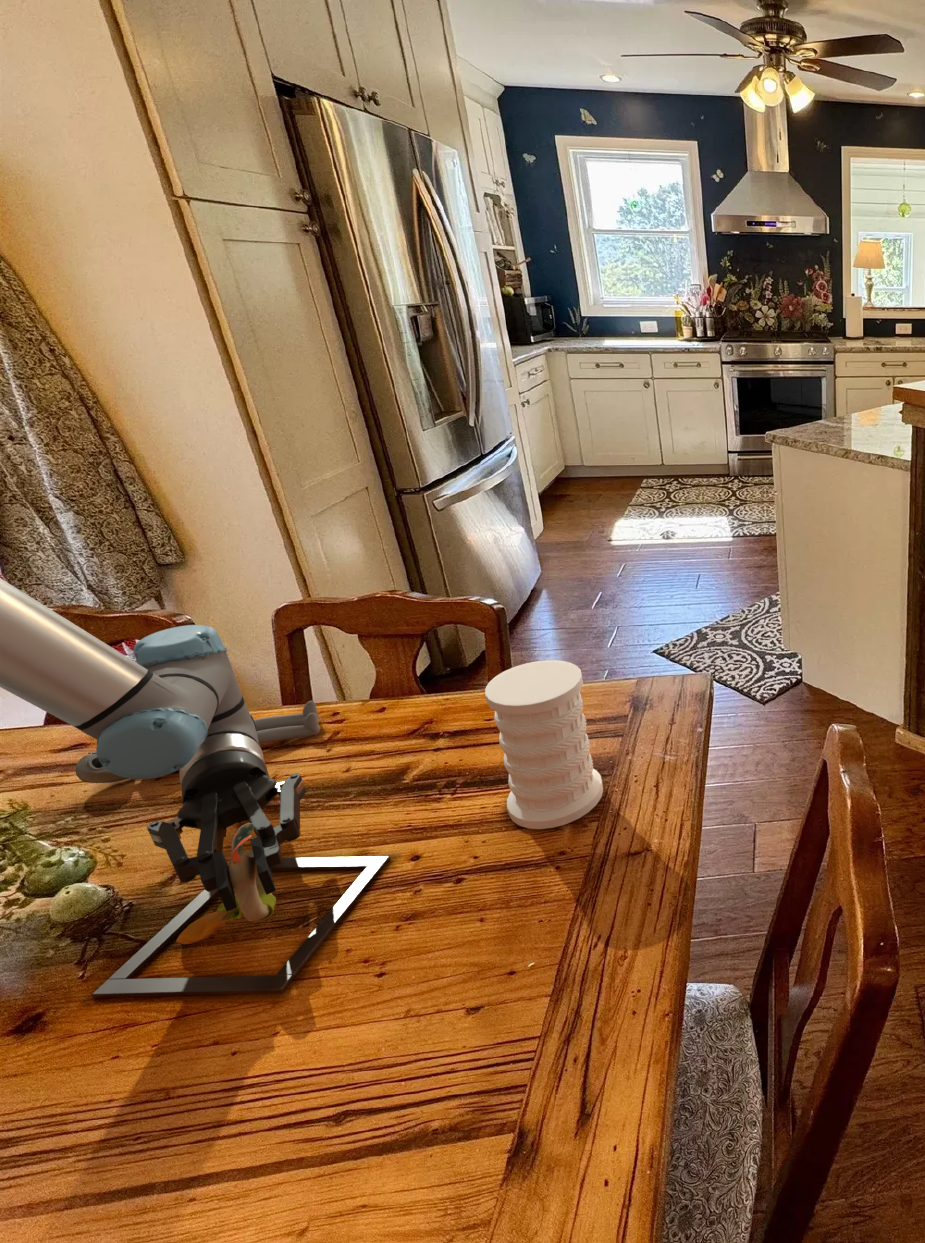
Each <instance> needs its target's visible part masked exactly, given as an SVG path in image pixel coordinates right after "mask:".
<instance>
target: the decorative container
mask: <svg viewBox="0 0 925 1243" xmlns="http://www.w3.org/2000/svg"><path fill="white" fill-rule="evenodd" d="M583 686H584V680H583V674H582V670H581V669H580V668H579V666H578V665H576V664H574V663H572V662H569V661H564V660H556V659H548V660H547V659H546V660H536V661H532V662H526V663H523V664H519V665H515V666H513V667H511V668H508V669H506V670H504V671H502V672H500V673H498V674H497V675H496V676H495V677H493V678H492V679H491V680H490V681H489V682H488V683H487V685H486V687H485V689H484V696H485V699H486V704H487V706H488V707H489V709H491V710H493V711H494V717H493V720H494V725H495V726H496V728H497V729H498V730H499V737H498V743H499V747H500V748H501V750H502V752H503V753H504V754H503V765H504V768H505V770H506V772H507V773H508V781H507V784H508V788H509V789H510V792H509V794H508V796H507V799H506V809H507V814H508V816H509V818H510V819H511V821H512V822H513V823H515V824H516V825H517V826H518V827H523V828H525V829H529V830H530V829H532V830H546V829H553V828H557V827H561V826H565V825H567V824H571V823H572V822H575V821H576V820H579V819H580V818H582V817H584V816H585V815H587V814H588V813H590V812H591V811H592V810H593V809H594V808H595V807H596V806H597V805H598V803H599V802H600V800H601V799H602V797H603V792H604V785H603V779H602V775H601V774H600V773H599V771H598V770H597V769H595V768H594V760H593V757H592V755H591V753H590V750H591V746H590V745H591V743H590V742H591V740H590V738H589V736H588V734H587V732H586V731H587V729H588V728H587V724H588V723H587V719H586V716H585V713H583V709H584V699H583V698H582V697H583V696H582V694H581V691H582V688H583Z"/></svg>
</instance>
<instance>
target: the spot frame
mask: <svg viewBox="0 0 925 1243" xmlns="http://www.w3.org/2000/svg"><path fill="white" fill-rule="evenodd" d="M389 861H391V856H390V855H374V856H373V855H366V856H365V855H364V856H361V855H360V856H307V857H306V856H304V857H303V856H299V857H298V856H297V857H283V860H282V863H279V864H277V865H274V866H272V867H270V868H271V872H290V871H292V872H295V871H296V872H297V871H345V870H346V871H347V870H348V871H349V870H352V871H353V870H363V871H362V872H360V874H359V875H358V876H357V878H356V879H355V880H354V881H353V882H352V884H351V885H350V886H349V887H348V889H347V890H345V892H344V893H343V894H342V895H341V897H340V898H339V900H338V901H337V902H336V903H335V904H334V905H333V906H332V907H331V909H329V911H328V912H327V913H326V914H325V916H324V917H323V918H322V920H321V921H320V922H319V923H318V924H317V926H316V927H315V928H314V929H313V930H312V931H311V933H310V934H309V935H308V936H307V937H306V939H305V940H304V941H303V942H302V943H301V945H300V946H299V947H298V948H297V949H296V951H294V953H293V954H292V956H291V957H290V958H289V959H288V960H287V961H286V963H285V964H284V965H283V966H282V968H280V970H279V971H278V972H277V973H276V974H269V975H267V974H266V975H231V976H227V975H226V976H189V977H188V976H187V977H153V978H152V977H150V978H149V977H148V978H146V977H145V978H133V977H134V976H135V975H136V974H138V972H139V971H140V970H141V969H142V968H144V967H145V965H147V964H148V962H150V961H151V960H152V959H153V958H154V957H155V956H156V955H157V954H158V953H159V952H160V951H161V950H162V949H163V948H165V947H166V945H168V943H170V942H171V941H172V940H173V939H174V938H175V937H176V936H177V935H179V933H180V932H181V931H183V930H184V928H186V926H188V925H189V923H191V922H192V921H193V920H194V919H195V918H196V917H197V916H198V915H199V914H200V913H201V912H202V911H203V910H204V909H205V908H206V907H207V906H208V905H209V904H210V903H211V902H212V901H213V900H214V899H216V897H218V896H219V893H218V891H217V889H214V890H212V891H209V892H208V891H206V890H205V888H204V889H203V890H202V891H201V892H200V893H199V894H198V895H197V896H195V898H193V899H192V900H191V902H189V903H188V904H187V905H186V906H185V907H184V908H182V910H181V911H179V913H177V914H176V915H175V916H174V917H172V919H171V920H170V921H169V922H168V923H167V924H165V925H164V927H162V928H161V929H160V930H159V931H158V932H157V933H156V934H155V935H154V936H153V937H152V938H151V939H150V940H148V941H147V942H146V943H145V944H144V945H143V946H141V948H140V949H139V950H137V951H136V953H134V954H133V955H132V956H131V957H130V958H129V959H128V960H127V961H126V962H125V963H124V964H123V965H121V966H120V968H119V969H117V970H116V971H115V972H114V973H112V975H110V976H109V977H108V979H106V980H105V982H103V983H102V984H101V985H100V986H99V987H98V988H97V989H96V990H94V991H93V992H92V994H91V996H92V998H94V999H96V998H97V999H102V998H103V999H104V998H105V999H106V998H138V997H141V998H142V997H144V998H145V997H176V996H216V995H217V996H219V995H249V994H251V995H253V994H254V995H255V994H257V995H258V994H283V992H284V991H286V989H287V988H288V986H289V985H290V984H291V983H292V981H293V980H294V979H295V978H296V977H297V975H298V974H299V973H300V972H301V970H302V969H303V968H304V967H305V966H306V965H307V963H308V962H309V961H310V960H311V958H312V957H313V956H314V954H315V953H316V952H317V951H318V949H319V948H320V947H321V946H322V945H323V943H325V940H327V938H328V937H329V936H330V935H331V934H332V932H333V931H334V930H335V928H336V927H337V926H338V925H339V924H340V922H341V921H342V920H343V919H344V917H345V916H346V915H347V914H348V912H349V911H350V910H351V908H353V906H354V905H355V904H356V903H357V901H358V900H359V899H360V898H361V897H362V895H363V894H364V893H365V892H366V890H367V889H368V887H369V886H370V885H371V884H372V882H373V881H374V880H375V879H376V877H377V876H378V875H379V874H380V873H381V871H383V869H384V868H385V866H386V865H387V864H388V863H389Z"/></svg>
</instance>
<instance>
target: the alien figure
mask: <svg viewBox="0 0 925 1243" xmlns="http://www.w3.org/2000/svg"><path fill="white" fill-rule="evenodd" d="M319 718H320V716H319V713H318V708H317V704H316V702H315V701H314V700H309V701H307V702H306V703H305V705H304V706H303V708H302V713H295V714H284V715H275V716H267V717H260V718H255V719H254V722H255V724H256V728H257V737H258V741H259V745H264V744H269V743H275V742H281V741H289V740H293V739H295V740H296V739H300V738H309V737H313V736H315V735H317V734H319V733H320V731H321V727H320V725H319ZM74 772H75V776H76V777H77V778H78V779H79V780H80V781H81V782H84V783H88V784H111V783H119V782H122V781H126V780H130V778H125V777H121V776H118V775H115V774H113V773H111V772H109V771H108V770H106V769H105V768H104V767H103V765H102V764H101V763H100V761H99V759H98V757H97V754H96V751H92V752H91V751H88V753H87V754H86V755H83V756H82V757H81V758H80V759H79V760H78V761H77V763H76V764H75V771H74Z"/></svg>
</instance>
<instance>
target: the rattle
mask: <svg viewBox="0 0 925 1243" xmlns="http://www.w3.org/2000/svg"><path fill="white" fill-rule="evenodd" d="M253 829H254V824H253V823H248V822H247V823H244V824H243V825H241V826H240V827H239V828H238V830H237V831H236V833H235V834H234V836H233V838H232V840H231V845H230V846H231V853H230V856H229V857H230V862H229V863H228V866H229V877H230V881H231V884H232V886H233V888H234V893H235V899H236V905H237V908H234V909H232V910H230V911H226V909H225V907H224V904H223V902H221V904H220V905H218V907H217V909H216V911H214V912H210V913H208V914H206V915H204V916H202V917H199V918H198V919H196V920H194V921H193V922H190V924H188V925H187V927H185V929H183V930H182V932H181V933H180V934H178V937H177V938H176V940H175V941H176V943H178V944H181V945H190V944H194V943H197V942H199V941H201V940H204V939H206V938H208V937H209V936H210V935H211V934H213V933H214V932H215V931H217V930H218V929H219V928H220V927H222V926H223V925H224V924H226V923H228V922H230V921H232V920H236V919H241V918H243V917H244V918H245V919H246V920H247V921H250V922H253V923H259V922H263V921H267V920H268V919H270V918H271V917H272V916H273V914H274V910H275V907H276V904H277V897H276V896H275V895H273V892H272V893H270V894H267V895H266V893H265V890H264V888H263V886H262V883H261V881H260V878H259V876H258V873H257V868H256V863H255V859H254V854H253V850H252V849H249V850H245V851H242V848H243V846H244V843H246V842H247V841H248V840H250V839H251V838H252V834H251V833H252V832H254V831H253Z"/></svg>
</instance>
